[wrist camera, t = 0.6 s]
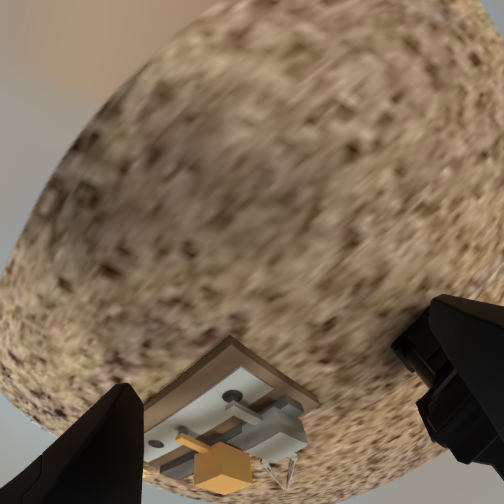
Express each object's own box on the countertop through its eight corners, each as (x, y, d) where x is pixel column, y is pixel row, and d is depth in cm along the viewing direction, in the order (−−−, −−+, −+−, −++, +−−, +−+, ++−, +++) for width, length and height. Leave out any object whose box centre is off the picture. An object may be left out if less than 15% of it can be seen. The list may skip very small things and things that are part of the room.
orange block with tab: (247, 447, 25) (253, 484, 21) (222, 459, 26) (225, 494, 21) (191, 420, 23) (190, 462, 18) (167, 435, 24) (163, 474, 19)
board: (316, 396, 26) (332, 436, 21) (182, 471, 29) (181, 503, 24) (230, 335, 22) (234, 382, 17) (104, 433, 26) (95, 468, 20)
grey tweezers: (259, 454, 30) (261, 467, 28) (295, 447, 30) (299, 459, 28) (272, 490, 37) (274, 499, 35) (298, 485, 37) (301, 493, 35)
